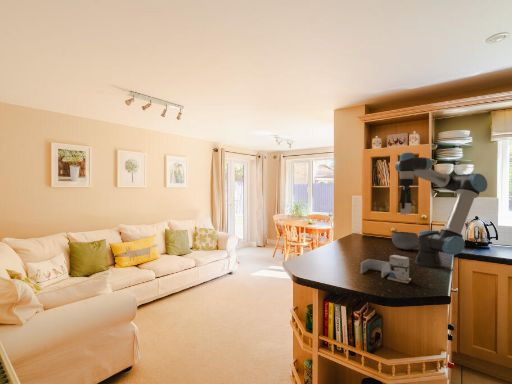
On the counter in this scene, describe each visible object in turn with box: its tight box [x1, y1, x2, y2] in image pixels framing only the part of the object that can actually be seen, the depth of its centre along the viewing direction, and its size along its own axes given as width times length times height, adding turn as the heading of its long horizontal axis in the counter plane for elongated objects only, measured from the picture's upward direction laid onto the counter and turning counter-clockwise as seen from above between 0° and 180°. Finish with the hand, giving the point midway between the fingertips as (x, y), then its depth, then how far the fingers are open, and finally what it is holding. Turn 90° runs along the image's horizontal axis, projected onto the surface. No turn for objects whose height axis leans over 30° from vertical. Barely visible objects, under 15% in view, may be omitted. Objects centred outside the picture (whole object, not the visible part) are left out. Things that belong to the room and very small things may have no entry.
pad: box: [386, 276, 412, 284], centre depth 146 cm, size 9×10×1 cm
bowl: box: [391, 231, 419, 251], centre depth 235 cm, size 20×20×15 cm
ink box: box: [388, 254, 410, 281], centre depth 146 cm, size 8×5×12 cm, turn 37°
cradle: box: [360, 258, 390, 279], centre depth 158 cm, size 14×12×6 cm
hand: (405, 214), depth 162 cm, fingers open, 13 cm apart
